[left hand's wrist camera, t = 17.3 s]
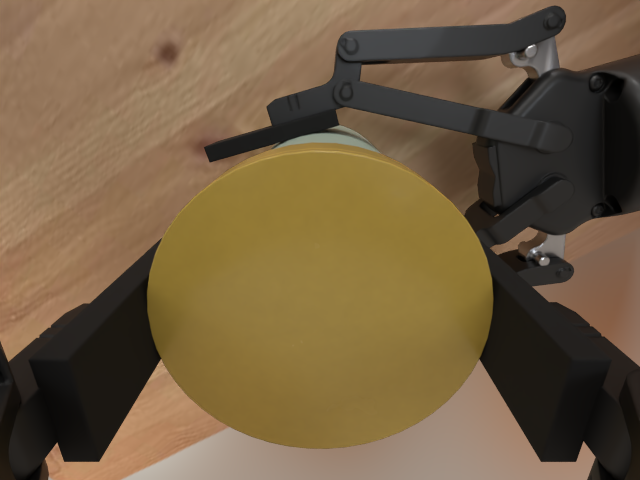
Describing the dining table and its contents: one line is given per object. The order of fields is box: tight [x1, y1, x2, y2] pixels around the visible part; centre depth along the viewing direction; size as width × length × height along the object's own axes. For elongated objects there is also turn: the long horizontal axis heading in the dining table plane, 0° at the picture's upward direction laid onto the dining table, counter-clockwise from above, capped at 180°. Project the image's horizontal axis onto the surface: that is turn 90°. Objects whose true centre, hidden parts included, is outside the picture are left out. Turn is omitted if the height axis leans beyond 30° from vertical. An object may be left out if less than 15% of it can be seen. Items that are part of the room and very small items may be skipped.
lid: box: [147, 142, 494, 449], centre depth 11 cm, size 10×10×2 cm
